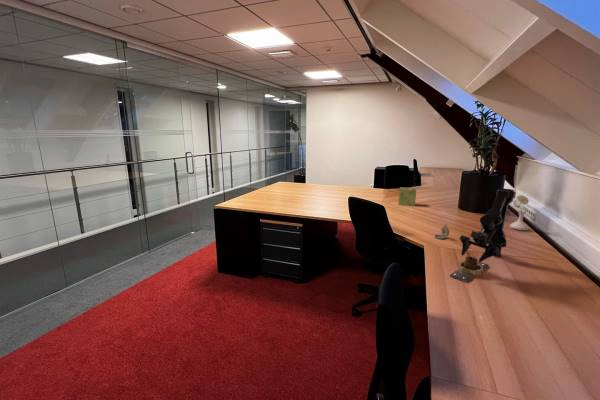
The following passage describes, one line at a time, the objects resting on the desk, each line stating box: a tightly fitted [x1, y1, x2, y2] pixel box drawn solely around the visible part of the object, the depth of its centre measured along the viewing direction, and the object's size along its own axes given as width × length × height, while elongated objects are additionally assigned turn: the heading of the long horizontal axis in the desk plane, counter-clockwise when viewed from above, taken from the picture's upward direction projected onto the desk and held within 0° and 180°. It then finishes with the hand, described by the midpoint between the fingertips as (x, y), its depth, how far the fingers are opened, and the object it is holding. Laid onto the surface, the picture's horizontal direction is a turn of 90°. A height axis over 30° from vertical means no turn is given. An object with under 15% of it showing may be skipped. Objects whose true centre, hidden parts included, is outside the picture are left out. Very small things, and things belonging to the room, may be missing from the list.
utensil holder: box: [464, 252, 478, 270], centre depth 154 cm, size 6×6×12 cm
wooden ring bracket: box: [449, 260, 490, 283], centre depth 154 cm, size 27×11×3 cm, turn 129°
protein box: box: [397, 187, 417, 207], centre depth 290 cm, size 10×15×16 cm
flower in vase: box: [509, 194, 530, 231], centre depth 216 cm, size 13×11×25 cm
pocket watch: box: [434, 223, 450, 240], centre depth 201 cm, size 8×8×10 cm
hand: (470, 258), depth 152 cm, fingers open, 9 cm apart
